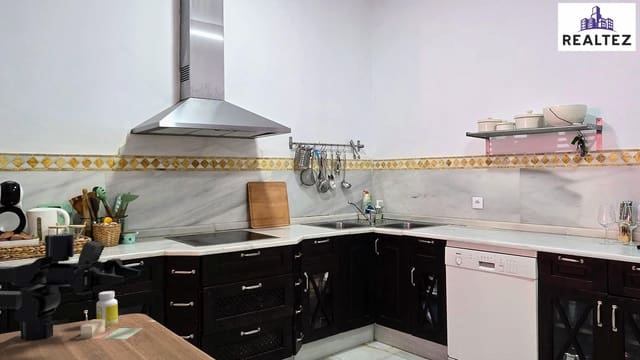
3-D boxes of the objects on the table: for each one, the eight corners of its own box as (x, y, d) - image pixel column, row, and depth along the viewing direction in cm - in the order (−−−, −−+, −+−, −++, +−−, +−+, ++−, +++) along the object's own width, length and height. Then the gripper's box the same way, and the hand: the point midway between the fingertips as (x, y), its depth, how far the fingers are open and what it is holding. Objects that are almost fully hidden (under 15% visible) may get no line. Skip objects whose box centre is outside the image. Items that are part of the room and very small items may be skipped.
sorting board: (72, 344, 120) (72, 339, 120) (94, 331, 130) (94, 327, 130) (126, 344, 118) (126, 339, 118) (144, 331, 128) (144, 327, 128)
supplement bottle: (120, 324, 136) (120, 290, 136) (113, 330, 131) (112, 294, 131) (101, 325, 136) (100, 290, 136) (93, 331, 130) (92, 295, 130)
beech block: (92, 338, 120) (92, 326, 120) (80, 338, 120) (80, 326, 120) (104, 330, 126) (104, 319, 126) (93, 330, 126) (93, 319, 126)
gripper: (50, 246, 113) (114, 248, 112) (92, 239, 131) (147, 240, 131) (48, 294, 113) (113, 296, 112) (91, 280, 131) (146, 281, 130)
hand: (131, 275), depth 121 cm, fingers open, 9 cm apart
